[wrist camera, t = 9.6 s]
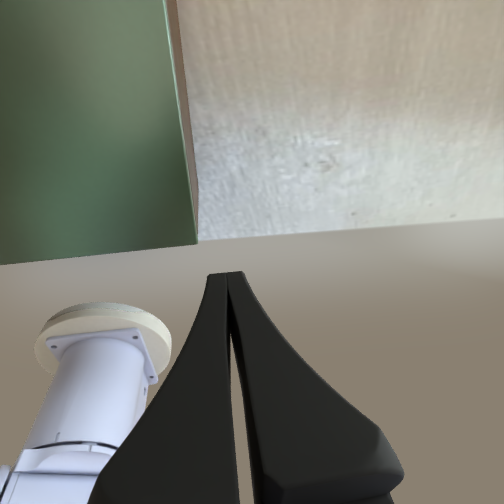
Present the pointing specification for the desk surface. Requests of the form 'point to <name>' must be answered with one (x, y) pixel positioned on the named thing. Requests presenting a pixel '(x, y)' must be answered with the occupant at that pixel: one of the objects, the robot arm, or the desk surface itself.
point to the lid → (90, 131)
